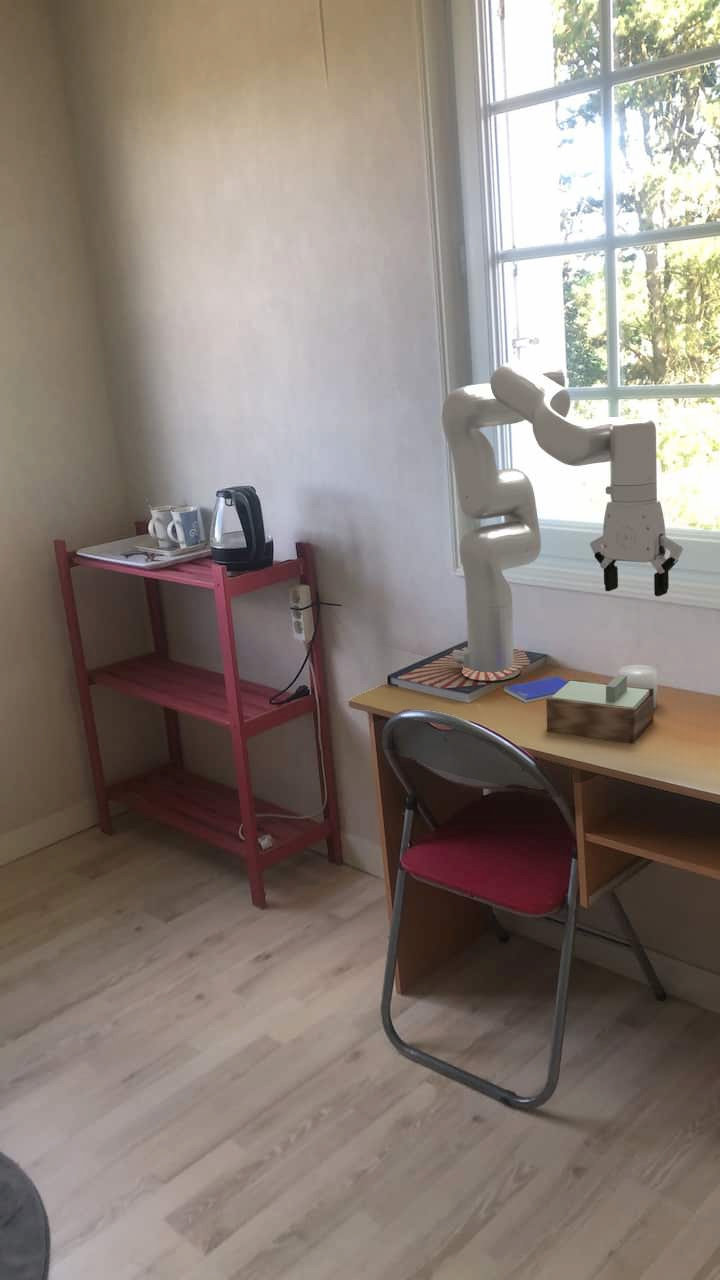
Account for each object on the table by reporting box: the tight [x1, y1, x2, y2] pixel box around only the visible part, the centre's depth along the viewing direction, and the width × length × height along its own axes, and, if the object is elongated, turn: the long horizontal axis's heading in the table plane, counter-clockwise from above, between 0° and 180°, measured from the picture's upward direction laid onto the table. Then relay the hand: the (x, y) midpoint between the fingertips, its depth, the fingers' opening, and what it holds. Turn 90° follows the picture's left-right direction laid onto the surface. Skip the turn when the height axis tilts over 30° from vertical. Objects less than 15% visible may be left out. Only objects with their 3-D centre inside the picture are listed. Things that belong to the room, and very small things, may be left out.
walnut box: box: [545, 678, 654, 744], centre depth 199 cm, size 16×12×6 cm
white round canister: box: [618, 664, 658, 710], centre depth 208 cm, size 7×7×7 cm
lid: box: [550, 673, 649, 710], centre depth 197 cm, size 15×10×4 cm, turn 59°
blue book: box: [503, 676, 569, 704], centre depth 219 cm, size 2×8×12 cm
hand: (635, 592), depth 189 cm, fingers open, 9 cm apart
